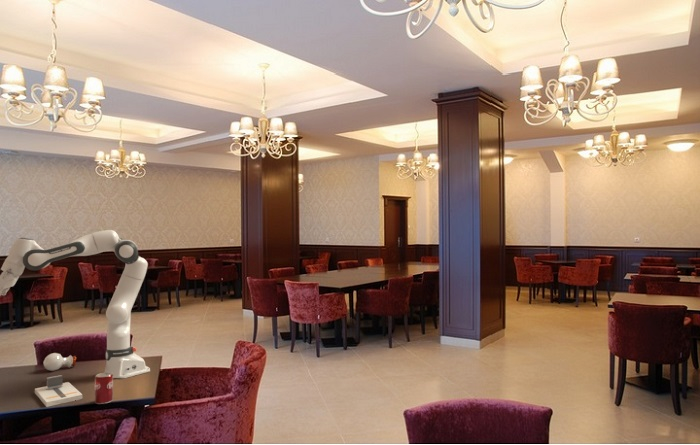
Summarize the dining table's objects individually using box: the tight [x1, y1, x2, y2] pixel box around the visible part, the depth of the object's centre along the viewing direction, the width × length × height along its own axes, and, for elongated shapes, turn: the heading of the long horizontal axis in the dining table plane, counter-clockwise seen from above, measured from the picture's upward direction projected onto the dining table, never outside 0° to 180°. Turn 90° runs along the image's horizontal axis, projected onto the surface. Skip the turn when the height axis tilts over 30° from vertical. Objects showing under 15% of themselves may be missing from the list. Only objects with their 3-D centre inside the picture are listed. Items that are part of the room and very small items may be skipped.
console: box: [34, 381, 83, 408], centre depth 219 cm, size 14×25×2 cm, turn 43°
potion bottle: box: [43, 352, 77, 372], centre depth 261 cm, size 9×10×15 cm
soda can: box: [94, 372, 114, 405], centre depth 211 cm, size 7×7×12 cm
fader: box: [46, 374, 64, 389], centre depth 224 cm, size 6×4×5 cm, turn 134°
